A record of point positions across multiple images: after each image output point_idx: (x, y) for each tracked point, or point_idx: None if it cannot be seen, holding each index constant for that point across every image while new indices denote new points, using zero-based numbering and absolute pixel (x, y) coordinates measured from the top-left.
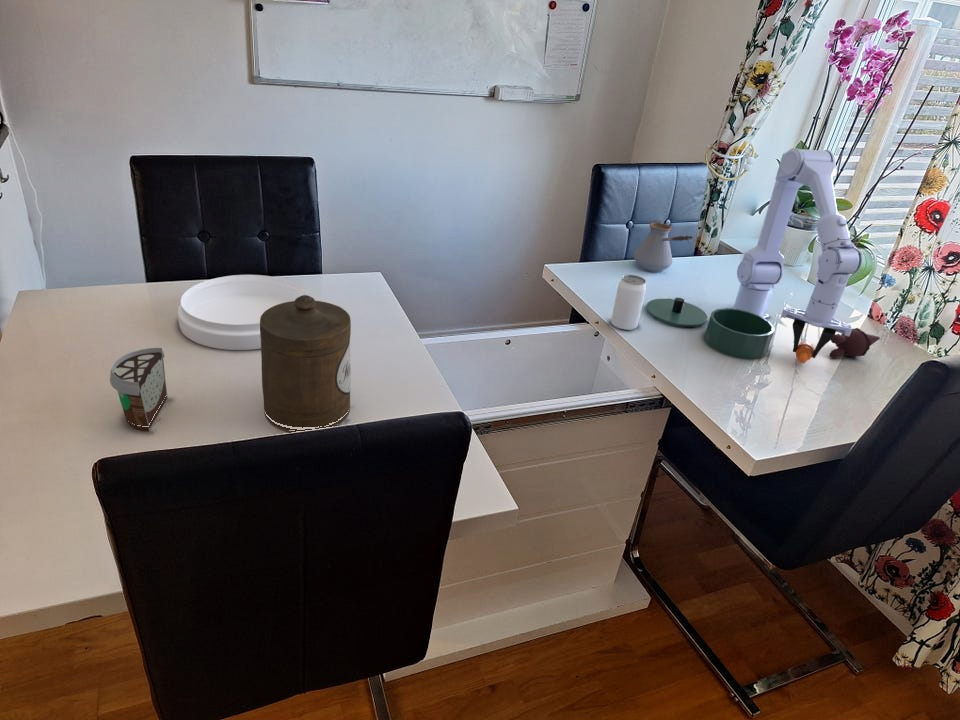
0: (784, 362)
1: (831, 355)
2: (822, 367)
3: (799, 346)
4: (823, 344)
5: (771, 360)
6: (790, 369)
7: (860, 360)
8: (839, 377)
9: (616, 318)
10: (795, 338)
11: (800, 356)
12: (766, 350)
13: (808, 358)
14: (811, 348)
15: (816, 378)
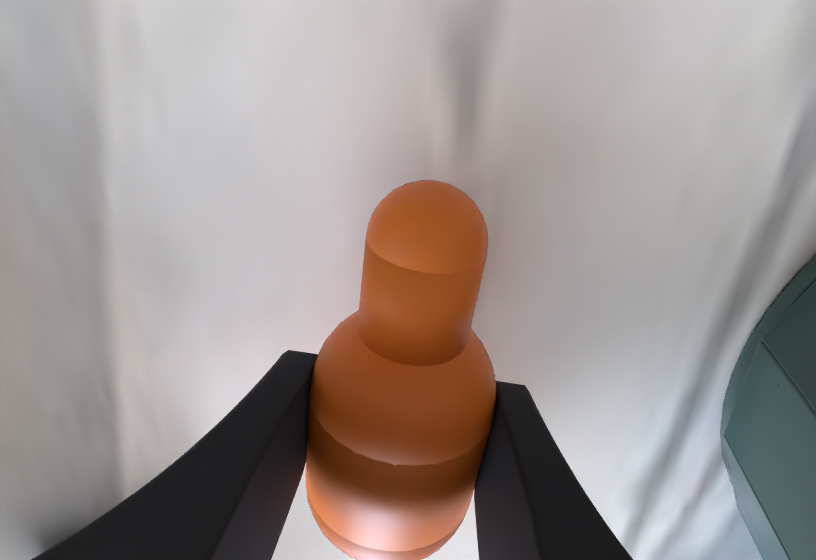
0: (573, 250)
1: None
2: (217, 332)
3: (473, 458)
4: (153, 496)
5: (720, 223)
6: (524, 113)
7: (18, 543)
8: (42, 216)
9: None
10: (593, 529)
11: (465, 231)
12: (806, 334)
13: (349, 318)
14: (333, 455)
15: (231, 46)
